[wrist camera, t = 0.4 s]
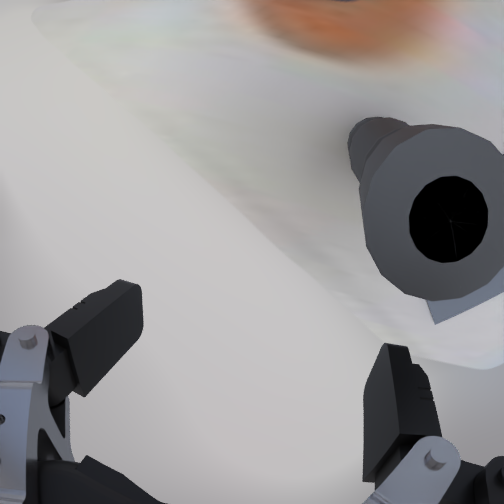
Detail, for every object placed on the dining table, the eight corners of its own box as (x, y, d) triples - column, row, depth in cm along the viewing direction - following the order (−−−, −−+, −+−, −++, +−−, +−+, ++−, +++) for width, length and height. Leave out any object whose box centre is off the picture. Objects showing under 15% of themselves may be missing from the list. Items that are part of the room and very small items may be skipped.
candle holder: (412, 165, 30) (532, 279, 8) (359, 182, 32) (380, 326, 10) (393, 109, 28) (507, 99, 6) (338, 127, 30) (324, 152, 9)
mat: (504, 153, 25) (508, 154, 25) (532, 270, 29) (535, 273, 28) (389, 211, 32) (391, 214, 32) (433, 320, 36) (435, 324, 35)
